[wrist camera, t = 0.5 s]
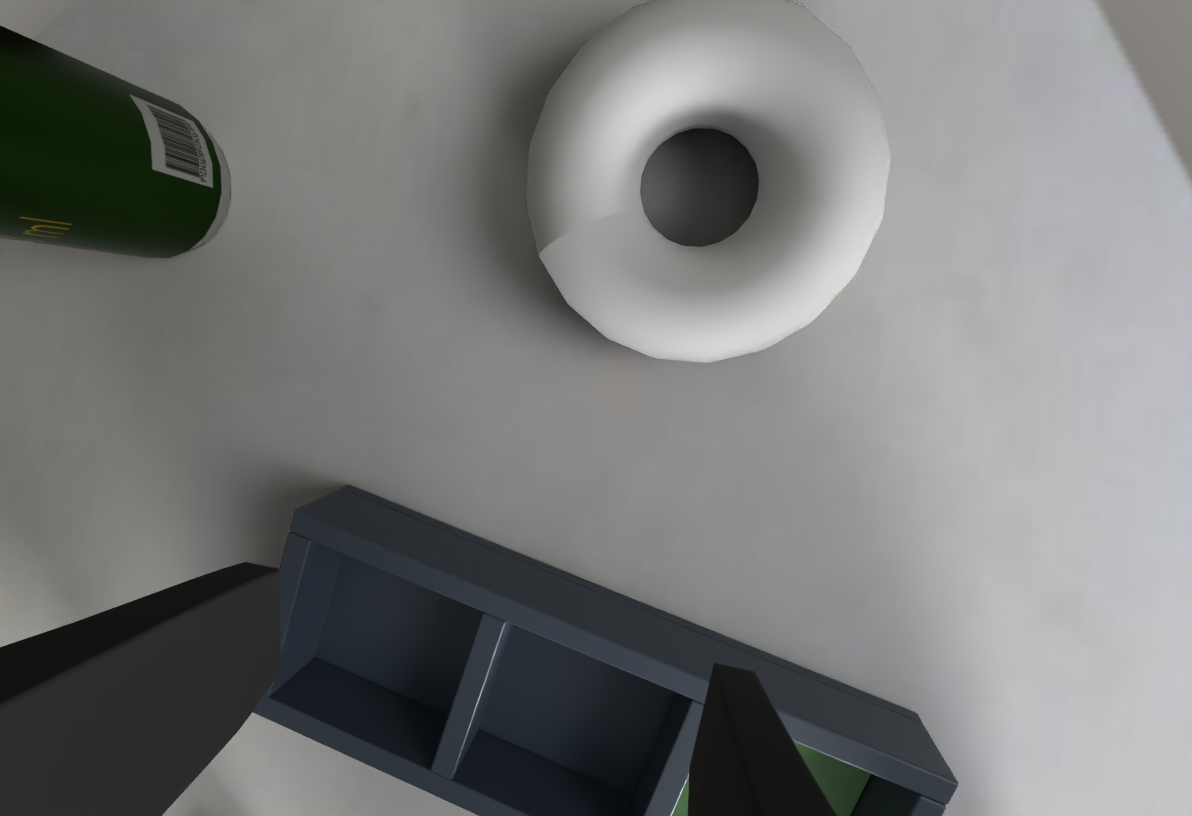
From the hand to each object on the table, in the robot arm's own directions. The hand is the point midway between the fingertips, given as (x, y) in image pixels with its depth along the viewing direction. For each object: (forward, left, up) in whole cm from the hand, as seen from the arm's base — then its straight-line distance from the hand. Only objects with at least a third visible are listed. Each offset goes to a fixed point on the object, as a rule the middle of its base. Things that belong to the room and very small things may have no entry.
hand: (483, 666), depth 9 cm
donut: (+10, 0, -11) cm, 15 cm away
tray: (-7, -2, -11) cm, 13 cm away
